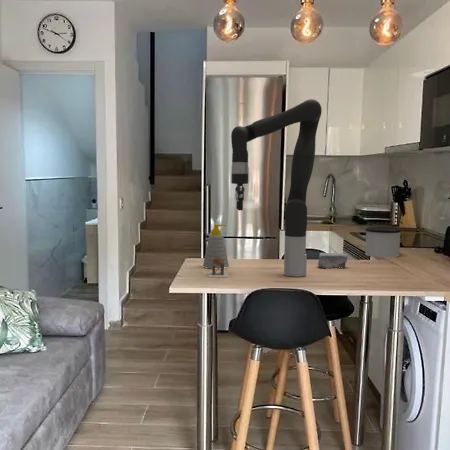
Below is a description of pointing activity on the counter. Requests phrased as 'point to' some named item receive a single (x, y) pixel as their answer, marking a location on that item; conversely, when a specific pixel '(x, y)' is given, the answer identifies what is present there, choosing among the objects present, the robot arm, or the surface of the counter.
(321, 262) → the decorative stone
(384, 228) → the container
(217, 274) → the felt pad
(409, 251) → the counter surface
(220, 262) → the wooden pronged block
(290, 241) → the robot arm
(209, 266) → the soap bottle
